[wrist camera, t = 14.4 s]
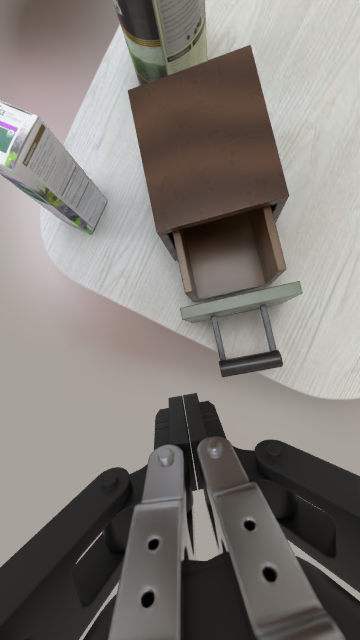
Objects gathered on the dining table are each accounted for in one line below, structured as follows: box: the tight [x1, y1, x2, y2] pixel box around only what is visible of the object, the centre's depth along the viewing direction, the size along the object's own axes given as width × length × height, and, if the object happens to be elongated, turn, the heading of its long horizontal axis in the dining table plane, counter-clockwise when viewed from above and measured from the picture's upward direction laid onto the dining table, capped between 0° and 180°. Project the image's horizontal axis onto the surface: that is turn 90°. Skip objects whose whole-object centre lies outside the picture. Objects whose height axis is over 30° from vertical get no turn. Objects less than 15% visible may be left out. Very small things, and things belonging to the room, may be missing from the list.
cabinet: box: [128, 45, 289, 261], centre depth 29 cm, size 16×13×10 cm
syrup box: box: [0, 101, 107, 234], centre depth 30 cm, size 6×6×14 cm
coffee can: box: [113, 0, 208, 86], centre depth 29 cm, size 10×10×14 cm
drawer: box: [172, 205, 302, 377], centre depth 28 cm, size 22×12×8 cm, turn 12°
